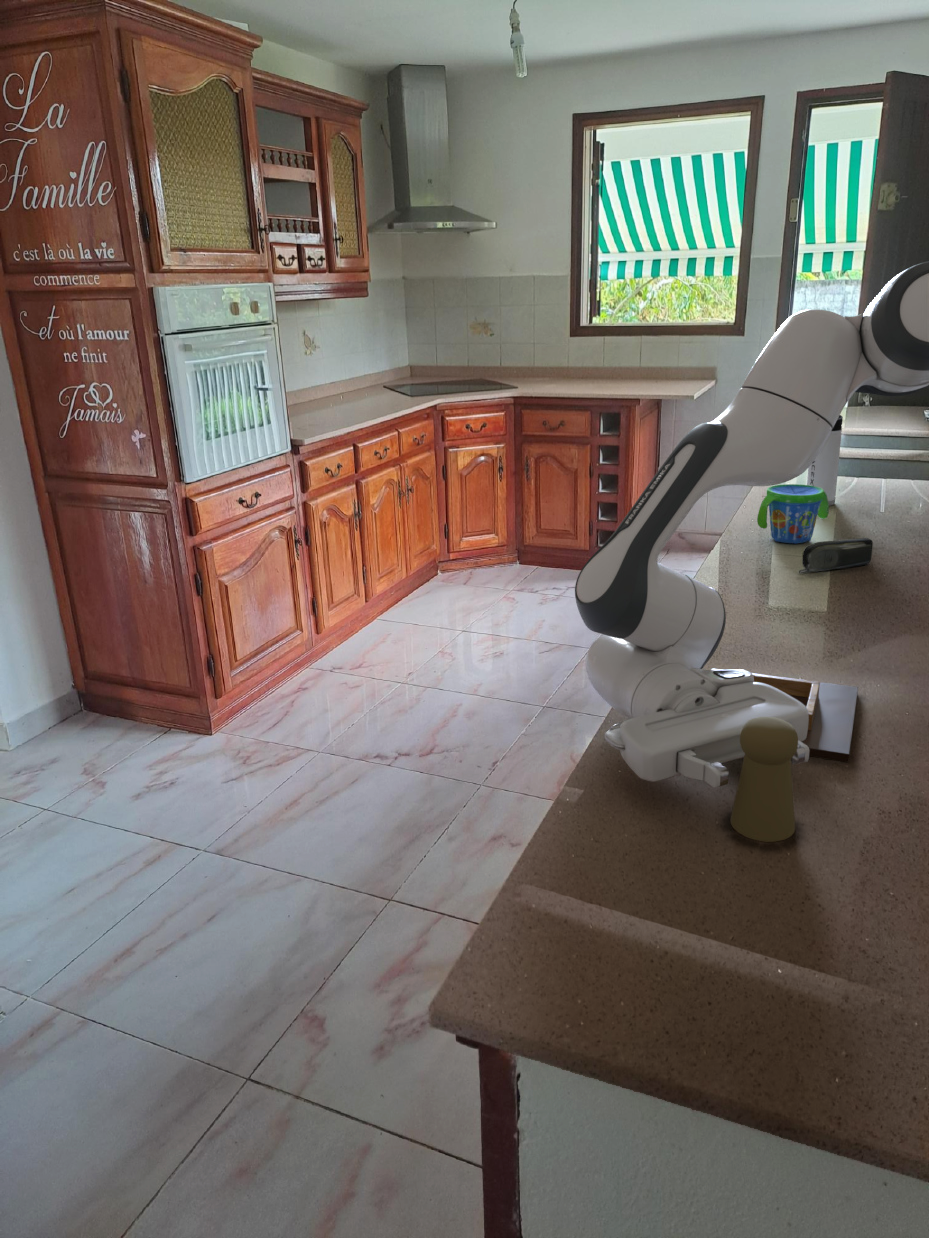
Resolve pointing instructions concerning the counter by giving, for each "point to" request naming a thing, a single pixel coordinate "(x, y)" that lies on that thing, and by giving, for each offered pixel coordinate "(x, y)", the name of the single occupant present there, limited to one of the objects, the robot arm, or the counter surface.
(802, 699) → the pad
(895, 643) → the counter surface
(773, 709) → the robot arm
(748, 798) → the cork
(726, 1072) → the counter surface
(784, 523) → the snack cup
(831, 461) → the travel mug
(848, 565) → the dark grey stapler
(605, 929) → the counter surface
